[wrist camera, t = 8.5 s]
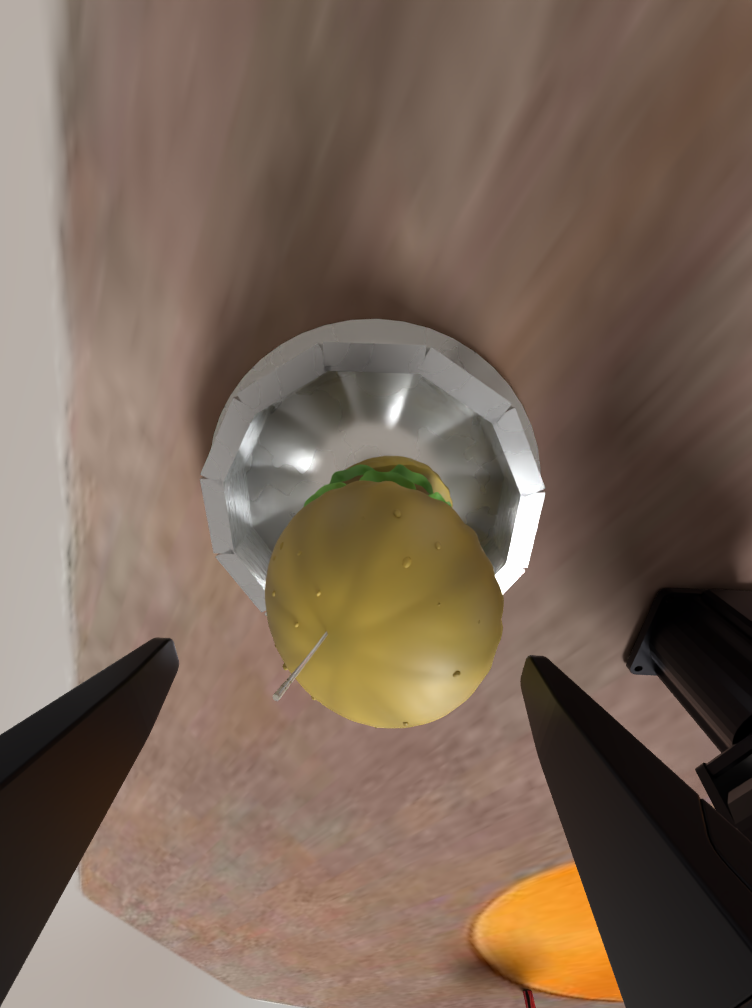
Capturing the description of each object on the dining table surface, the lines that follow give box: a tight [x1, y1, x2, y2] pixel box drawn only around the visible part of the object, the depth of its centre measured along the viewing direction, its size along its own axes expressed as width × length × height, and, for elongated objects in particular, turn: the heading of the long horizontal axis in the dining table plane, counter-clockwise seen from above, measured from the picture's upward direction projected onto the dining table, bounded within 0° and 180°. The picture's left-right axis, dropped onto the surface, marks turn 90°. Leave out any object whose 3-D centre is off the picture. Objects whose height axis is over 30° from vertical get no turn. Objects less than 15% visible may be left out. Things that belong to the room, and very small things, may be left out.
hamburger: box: [265, 456, 504, 728], centre depth 13 cm, size 8×7×12 cm
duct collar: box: [200, 319, 545, 616], centre depth 17 cm, size 17×17×3 cm
